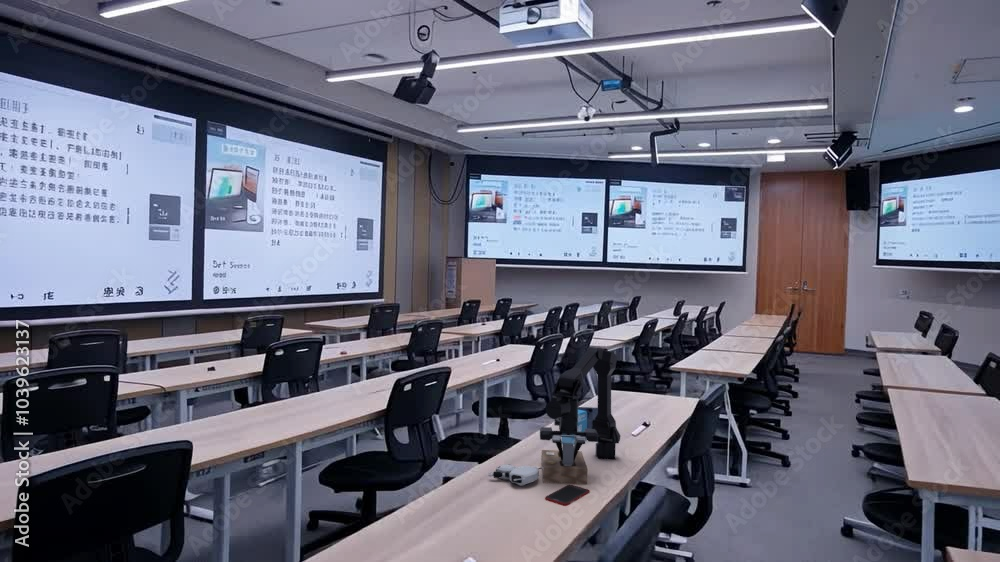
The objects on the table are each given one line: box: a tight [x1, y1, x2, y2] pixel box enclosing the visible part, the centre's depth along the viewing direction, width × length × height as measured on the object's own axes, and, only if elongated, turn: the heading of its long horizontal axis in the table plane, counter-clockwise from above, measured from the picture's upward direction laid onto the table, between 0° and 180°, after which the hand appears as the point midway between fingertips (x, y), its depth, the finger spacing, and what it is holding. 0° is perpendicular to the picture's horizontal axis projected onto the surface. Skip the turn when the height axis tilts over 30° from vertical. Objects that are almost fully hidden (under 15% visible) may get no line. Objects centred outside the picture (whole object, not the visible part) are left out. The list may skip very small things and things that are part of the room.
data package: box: [561, 410, 587, 445], centre depth 237 cm, size 12×4×12 cm, turn 142°
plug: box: [562, 443, 574, 466], centre depth 195 cm, size 3×3×8 cm
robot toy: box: [488, 464, 543, 487], centre depth 193 cm, size 12×4×15 cm
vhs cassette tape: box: [578, 406, 598, 429], centre depth 253 cm, size 18×3×10 cm, turn 88°
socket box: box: [540, 449, 588, 485], centre depth 200 cm, size 14×18×5 cm
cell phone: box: [544, 484, 591, 507], centre depth 181 cm, size 8×15×1 cm, turn 142°
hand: (567, 460), depth 195 cm, fingers closed on plug, 3 cm apart
